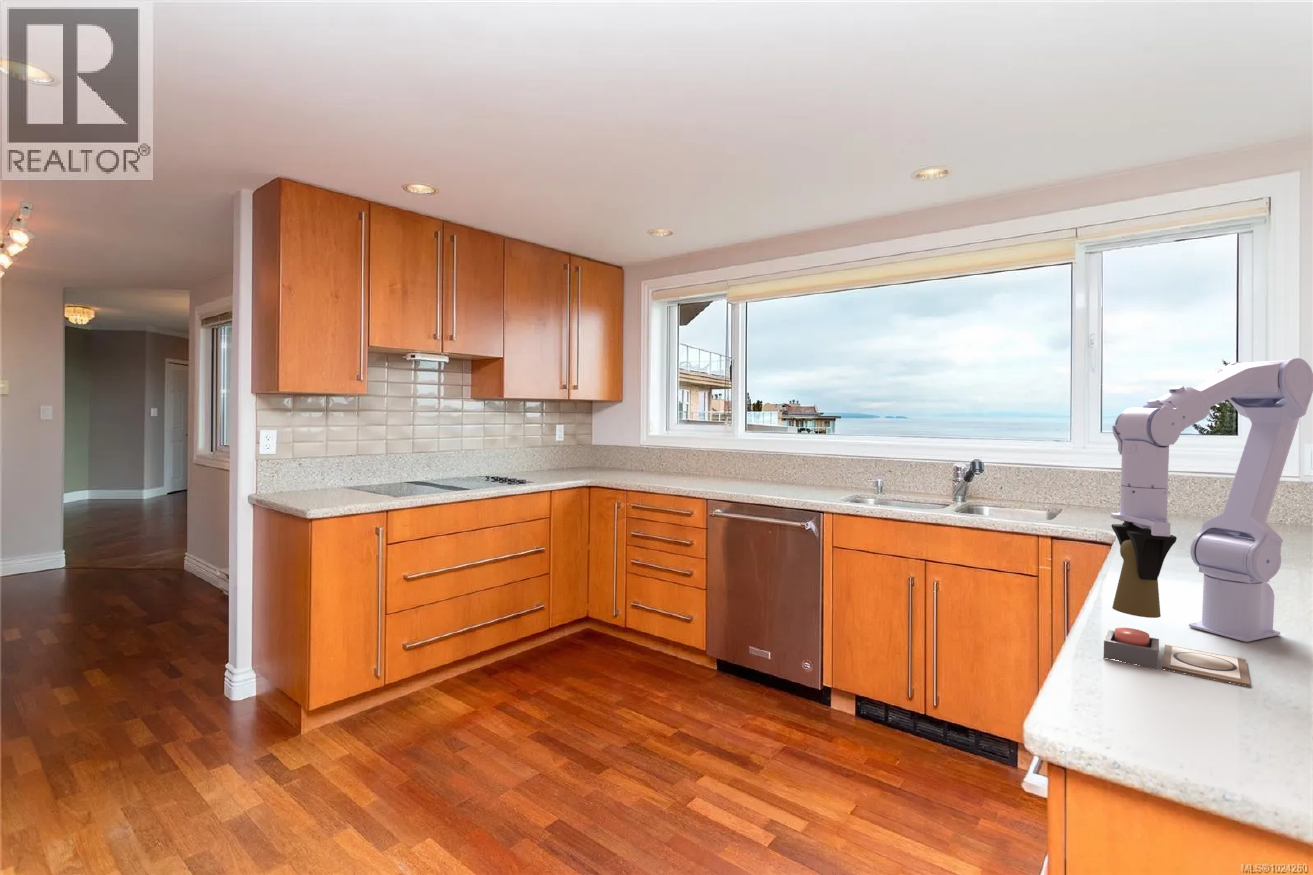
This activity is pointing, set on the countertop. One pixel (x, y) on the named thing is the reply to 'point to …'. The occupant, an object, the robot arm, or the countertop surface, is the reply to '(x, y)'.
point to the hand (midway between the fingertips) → (1140, 574)
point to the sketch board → (1206, 665)
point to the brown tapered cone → (1135, 588)
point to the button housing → (1131, 651)
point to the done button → (1132, 636)
